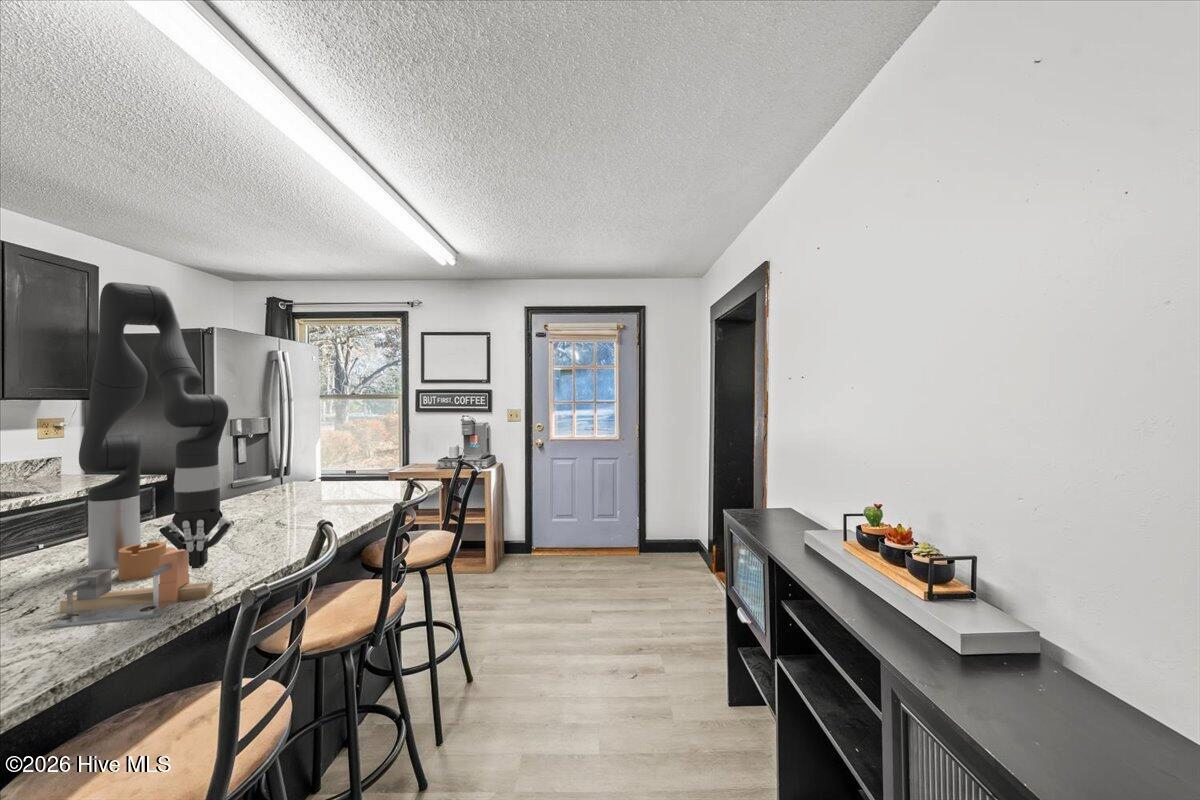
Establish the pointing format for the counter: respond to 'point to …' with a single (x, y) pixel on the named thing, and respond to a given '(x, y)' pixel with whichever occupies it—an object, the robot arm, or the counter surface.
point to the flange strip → (113, 614)
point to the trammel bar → (118, 593)
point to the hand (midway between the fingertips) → (198, 567)
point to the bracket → (140, 560)
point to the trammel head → (170, 576)
